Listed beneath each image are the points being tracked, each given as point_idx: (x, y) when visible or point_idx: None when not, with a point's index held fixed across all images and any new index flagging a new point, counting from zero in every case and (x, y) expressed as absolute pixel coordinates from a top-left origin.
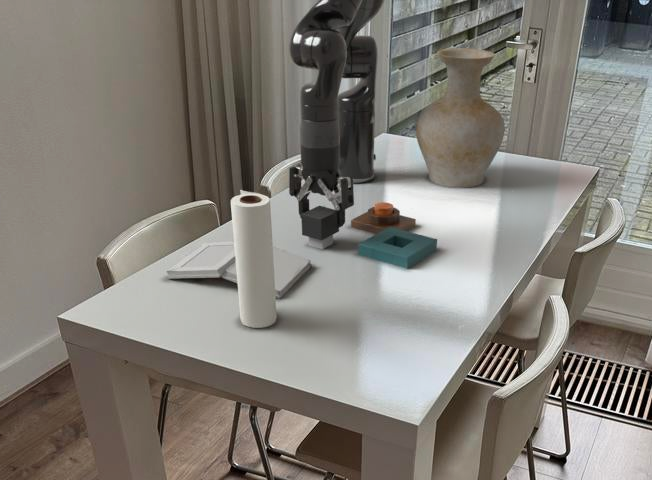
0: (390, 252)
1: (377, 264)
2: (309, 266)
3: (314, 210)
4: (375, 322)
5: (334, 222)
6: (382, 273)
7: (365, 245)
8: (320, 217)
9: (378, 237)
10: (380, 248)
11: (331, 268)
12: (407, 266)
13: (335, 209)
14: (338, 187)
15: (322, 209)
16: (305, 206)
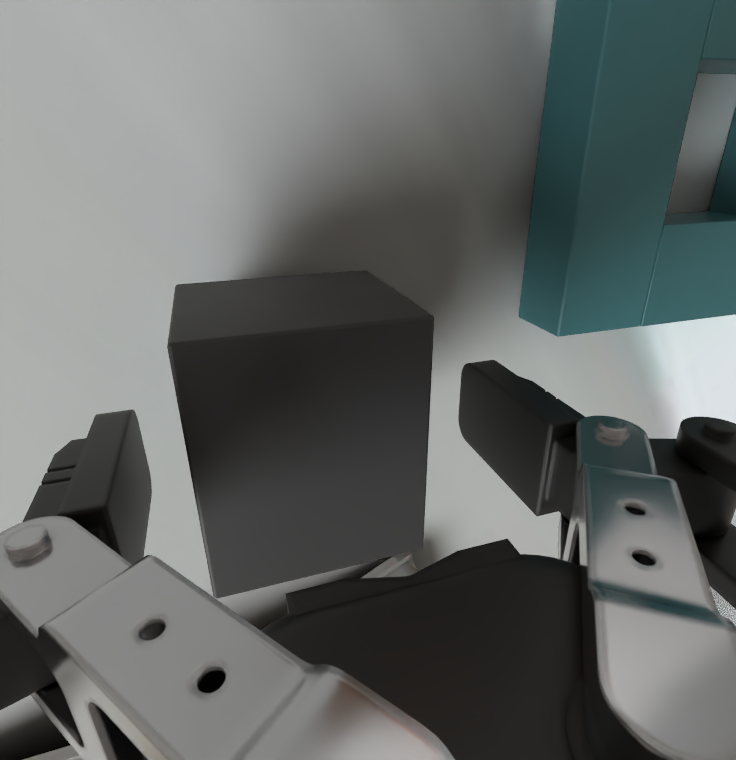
0: (728, 310)
1: (629, 337)
2: (415, 567)
3: (242, 474)
4: (724, 606)
5: (479, 453)
6: (670, 389)
7: (598, 327)
8: (397, 533)
9: (622, 168)
10: (676, 305)
11: (483, 498)
12: None
13: (538, 498)
14: (691, 553)
15: (284, 404)
16: (134, 525)
